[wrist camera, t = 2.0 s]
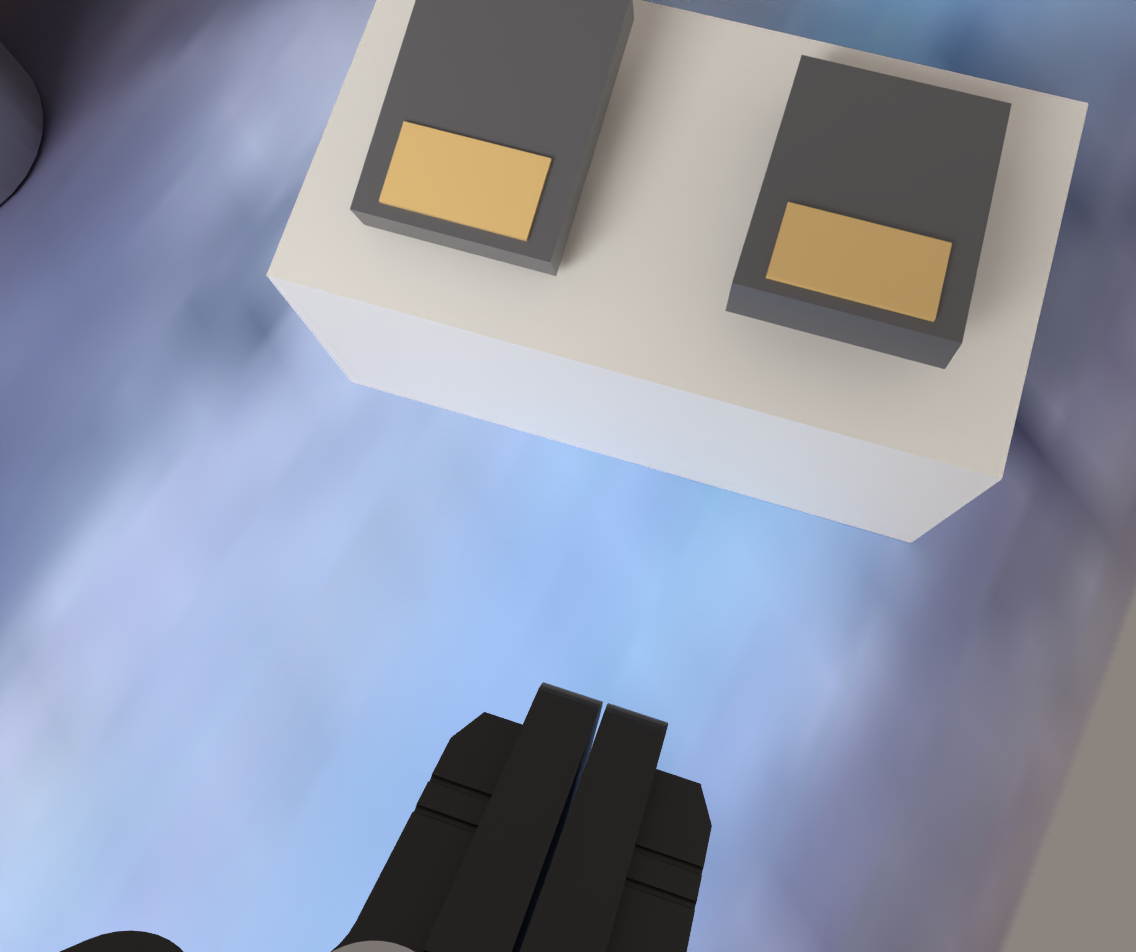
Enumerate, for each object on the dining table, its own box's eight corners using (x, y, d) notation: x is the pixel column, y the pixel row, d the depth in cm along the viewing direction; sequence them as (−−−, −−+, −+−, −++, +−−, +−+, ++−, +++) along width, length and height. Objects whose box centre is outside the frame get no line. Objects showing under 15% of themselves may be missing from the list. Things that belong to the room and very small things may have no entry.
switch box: (351, 382, 42) (258, 265, 32) (450, 117, 44) (394, -72, 34) (910, 542, 39) (1010, 472, 29) (982, 250, 42) (1098, 89, 31)
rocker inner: (364, 224, 32) (347, 207, 30) (442, -26, 32) (430, -56, 31) (556, 275, 31) (549, 260, 30) (634, 18, 32) (632, -10, 30)
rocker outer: (725, 310, 29) (732, 279, 28) (792, 89, 32) (802, 50, 31) (944, 369, 28) (964, 340, 27) (994, 137, 31) (1013, 99, 30)
